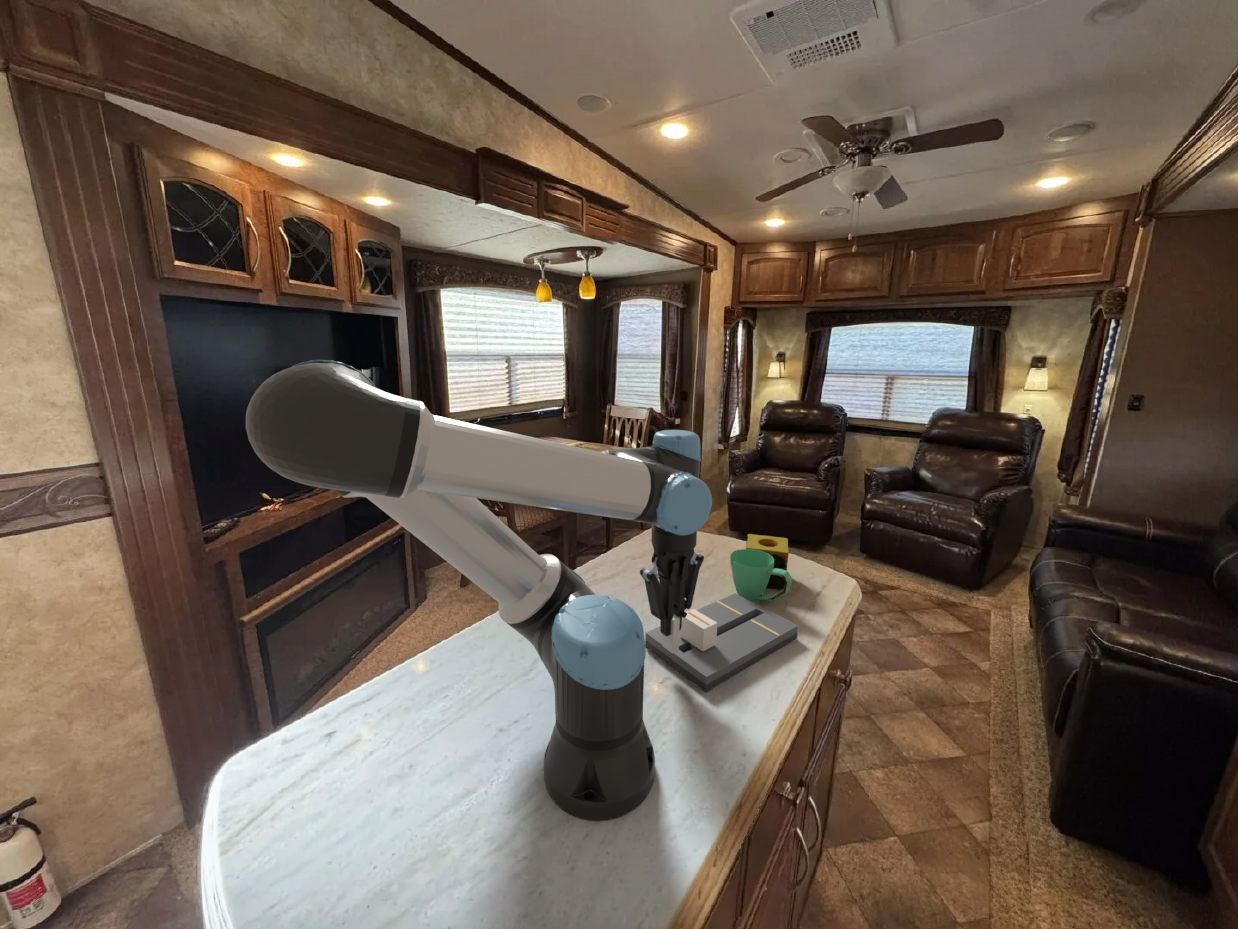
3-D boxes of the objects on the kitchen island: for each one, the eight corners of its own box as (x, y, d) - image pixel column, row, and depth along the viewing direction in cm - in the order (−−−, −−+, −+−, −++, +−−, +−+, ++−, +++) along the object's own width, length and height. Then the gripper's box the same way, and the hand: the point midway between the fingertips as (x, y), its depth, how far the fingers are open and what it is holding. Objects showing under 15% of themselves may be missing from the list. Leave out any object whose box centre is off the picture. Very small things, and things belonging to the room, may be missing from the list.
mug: (719, 597, 113) (721, 557, 110) (742, 583, 119) (744, 545, 117) (777, 622, 102) (781, 578, 100) (798, 605, 109) (803, 564, 107)
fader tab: (702, 658, 87) (703, 628, 86) (679, 642, 92) (680, 614, 91) (715, 651, 89) (717, 622, 88) (692, 636, 94) (693, 608, 93)
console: (705, 692, 81) (706, 676, 81) (645, 646, 94) (645, 632, 93) (796, 639, 97) (798, 625, 96) (734, 605, 109) (735, 592, 108)
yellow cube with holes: (741, 586, 118) (744, 548, 116) (743, 568, 128) (746, 532, 125) (785, 592, 115) (789, 553, 113) (784, 573, 125) (787, 537, 122)
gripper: (659, 539, 74) (656, 673, 79) (718, 521, 81) (711, 645, 87) (629, 525, 80) (628, 651, 85) (686, 509, 87) (682, 626, 93)
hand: (670, 648), depth 86 cm, fingers closed
